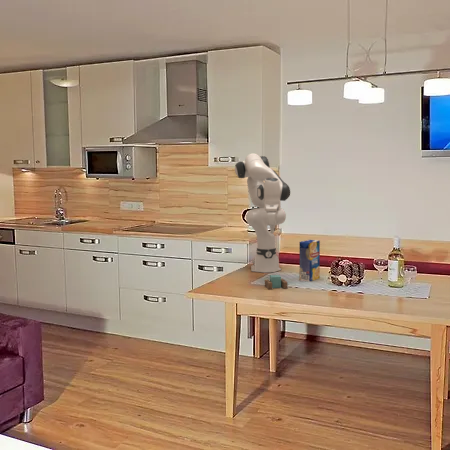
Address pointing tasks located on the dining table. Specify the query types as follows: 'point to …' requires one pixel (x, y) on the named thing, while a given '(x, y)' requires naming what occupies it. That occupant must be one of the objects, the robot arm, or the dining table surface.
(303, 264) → the beverage box
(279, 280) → the block
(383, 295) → the dining table surface
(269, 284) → the chute
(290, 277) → the dining table surface
